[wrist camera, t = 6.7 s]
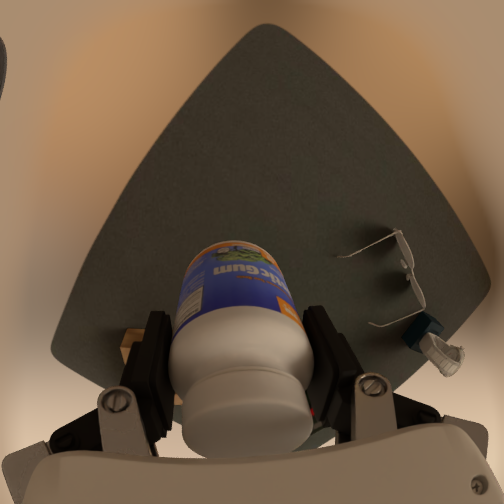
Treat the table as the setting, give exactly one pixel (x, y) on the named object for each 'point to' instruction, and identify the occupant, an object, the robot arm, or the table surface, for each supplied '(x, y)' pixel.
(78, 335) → the table surface
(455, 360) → the watch
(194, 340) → the pill bottle
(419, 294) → the sunglasses
